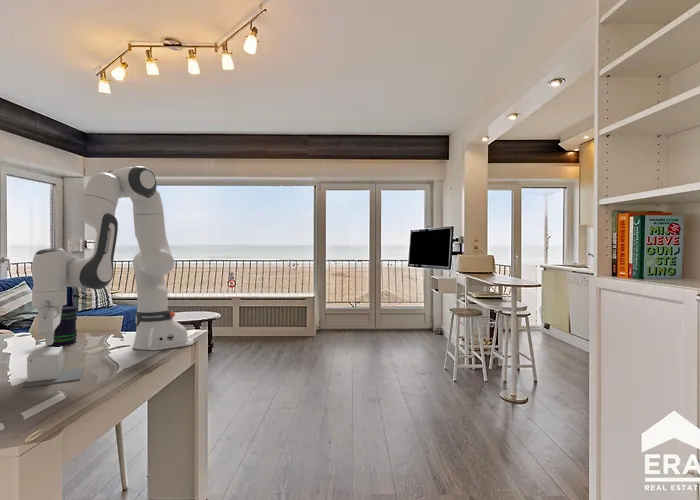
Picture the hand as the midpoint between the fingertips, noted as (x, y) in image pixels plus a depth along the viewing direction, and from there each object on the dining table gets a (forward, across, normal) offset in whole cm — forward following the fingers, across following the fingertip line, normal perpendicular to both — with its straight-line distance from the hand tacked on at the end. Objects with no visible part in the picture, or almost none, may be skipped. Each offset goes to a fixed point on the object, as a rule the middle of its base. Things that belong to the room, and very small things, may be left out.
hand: (49, 344), depth 129 cm
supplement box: (+5, +2, 0) cm, 6 cm away
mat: (+9, -6, -2) cm, 11 cm away
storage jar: (+9, +48, +1) cm, 48 cm away
